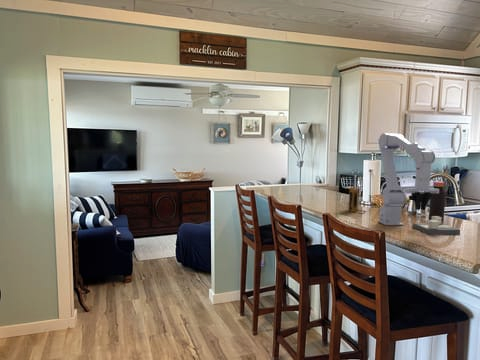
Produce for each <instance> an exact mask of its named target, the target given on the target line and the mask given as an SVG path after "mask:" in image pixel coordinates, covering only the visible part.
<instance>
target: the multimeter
mask: <svg viewBox="0 0 480 360" xmlns="http://www.w3.org/2000/svg"><path fill="white" fill-rule="evenodd" d="M356 180H358V179H357V176H356V177H354V176H352V179H351V183H350V187H349V194H348V195H349V197H348V199H349V200H348V203H347V205H348V207H347V209H348V211H350V212H351V213H358V212H359V214H360V215H362V214H365V213H366V212H367V213H369V211H366V210H361V209H359V206H358V204H359V199H360V198H359V197H360V188H359V187H357V188H356V183H357V185H359V182H358V181H356ZM352 182H353V185H352Z"/></svg>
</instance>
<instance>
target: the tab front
mask: <svg viewBox="0 0 480 360" xmlns="http://www.w3.org/2000/svg"><path fill="white" fill-rule="evenodd" d="M427 223H428V227H429V228H432V229H439V222H438V221H436V220H429V219H428V222H427Z"/></svg>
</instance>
